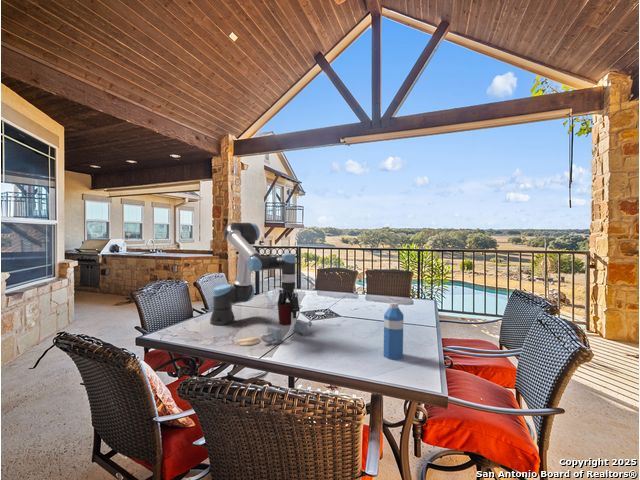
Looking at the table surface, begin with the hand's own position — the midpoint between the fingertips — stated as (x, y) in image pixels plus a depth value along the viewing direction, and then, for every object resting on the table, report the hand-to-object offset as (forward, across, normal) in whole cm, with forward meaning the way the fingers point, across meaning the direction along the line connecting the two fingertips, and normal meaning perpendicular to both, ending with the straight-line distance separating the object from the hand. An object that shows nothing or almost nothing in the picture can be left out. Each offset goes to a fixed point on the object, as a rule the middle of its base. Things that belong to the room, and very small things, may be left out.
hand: (287, 321), depth 166 cm
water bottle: (+8, +54, +21) cm, 59 cm away
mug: (+1, +1, 0) cm, 1 cm away
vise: (+8, 0, 0) cm, 9 cm away
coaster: (+9, -8, -20) cm, 23 cm away
